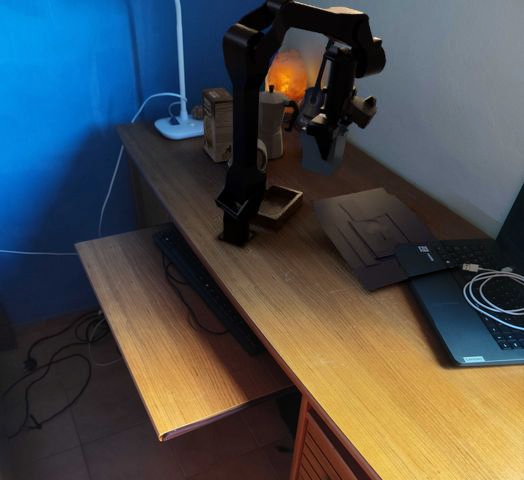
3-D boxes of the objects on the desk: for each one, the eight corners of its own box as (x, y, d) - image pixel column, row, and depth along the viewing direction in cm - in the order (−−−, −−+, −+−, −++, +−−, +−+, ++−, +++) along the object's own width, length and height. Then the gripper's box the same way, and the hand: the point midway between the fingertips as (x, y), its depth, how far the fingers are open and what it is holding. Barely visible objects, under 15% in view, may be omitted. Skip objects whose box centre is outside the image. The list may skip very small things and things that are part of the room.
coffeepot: (240, 152, 135) (240, 84, 121) (256, 141, 140) (258, 74, 127) (286, 166, 130) (293, 97, 117) (301, 154, 136) (309, 87, 122)
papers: (385, 195, 119) (389, 183, 116) (456, 275, 103) (463, 262, 100) (300, 212, 111) (303, 199, 108) (363, 300, 96) (368, 288, 93)
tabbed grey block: (334, 178, 109) (341, 135, 102) (294, 165, 113) (297, 122, 105) (344, 169, 112) (351, 126, 105) (305, 156, 116) (309, 114, 109)
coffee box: (203, 149, 135) (200, 88, 123) (224, 146, 137) (223, 86, 125) (214, 163, 129) (212, 101, 118) (236, 159, 131) (236, 98, 120)
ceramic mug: (265, 161, 131) (266, 133, 126) (266, 175, 126) (268, 147, 120) (228, 161, 131) (227, 133, 125) (227, 175, 125) (226, 146, 120)
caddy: (275, 231, 108) (276, 219, 106) (241, 219, 110) (241, 208, 108) (302, 203, 117) (303, 192, 115) (269, 193, 119) (270, 182, 117)
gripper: (361, 104, 90) (346, 180, 101) (390, 78, 101) (374, 149, 113) (309, 91, 93) (300, 167, 104) (343, 67, 104) (332, 138, 116)
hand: (329, 155), depth 109 cm, fingers closed on tabbed grey block, 6 cm apart
